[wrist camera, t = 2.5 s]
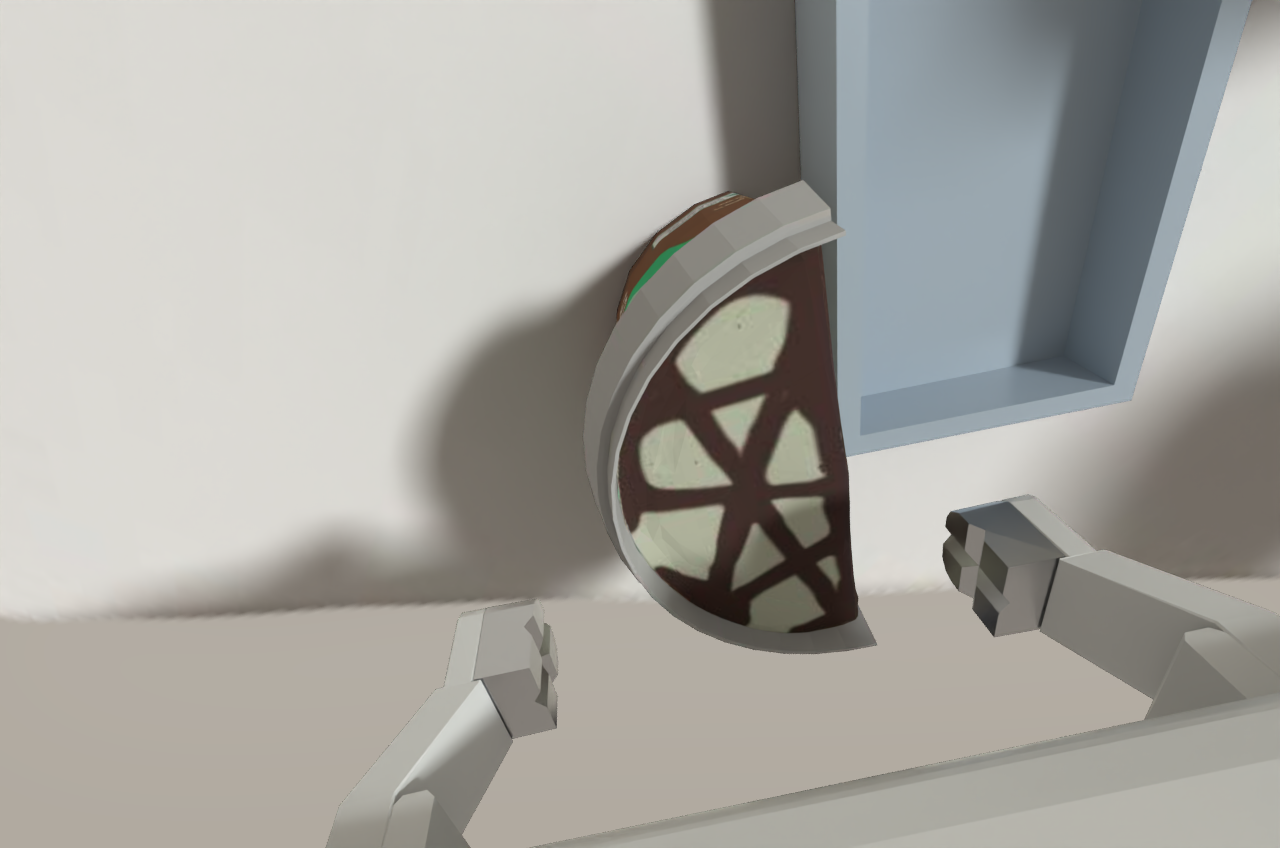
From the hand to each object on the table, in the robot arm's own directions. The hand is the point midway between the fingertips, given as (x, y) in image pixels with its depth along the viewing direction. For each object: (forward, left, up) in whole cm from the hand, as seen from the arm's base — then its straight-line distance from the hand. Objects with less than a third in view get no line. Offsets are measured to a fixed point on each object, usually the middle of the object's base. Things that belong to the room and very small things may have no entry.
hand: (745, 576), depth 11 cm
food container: (0, 0, -12) cm, 12 cm away
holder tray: (-10, -4, -12) cm, 16 cm away
